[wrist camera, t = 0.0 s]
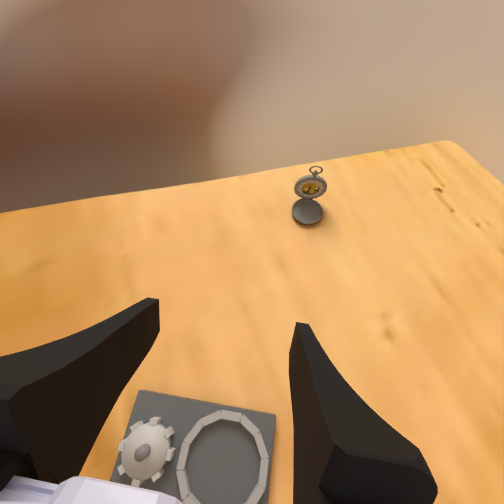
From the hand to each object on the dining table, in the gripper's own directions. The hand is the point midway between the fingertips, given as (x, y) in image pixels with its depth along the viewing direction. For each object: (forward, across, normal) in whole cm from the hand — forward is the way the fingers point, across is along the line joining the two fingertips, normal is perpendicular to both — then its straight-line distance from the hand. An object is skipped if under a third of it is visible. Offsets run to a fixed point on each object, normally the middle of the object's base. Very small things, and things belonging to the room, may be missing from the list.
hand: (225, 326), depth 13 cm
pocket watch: (+46, -9, +3) cm, 47 cm away
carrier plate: (+12, +4, +33) cm, 35 cm away
